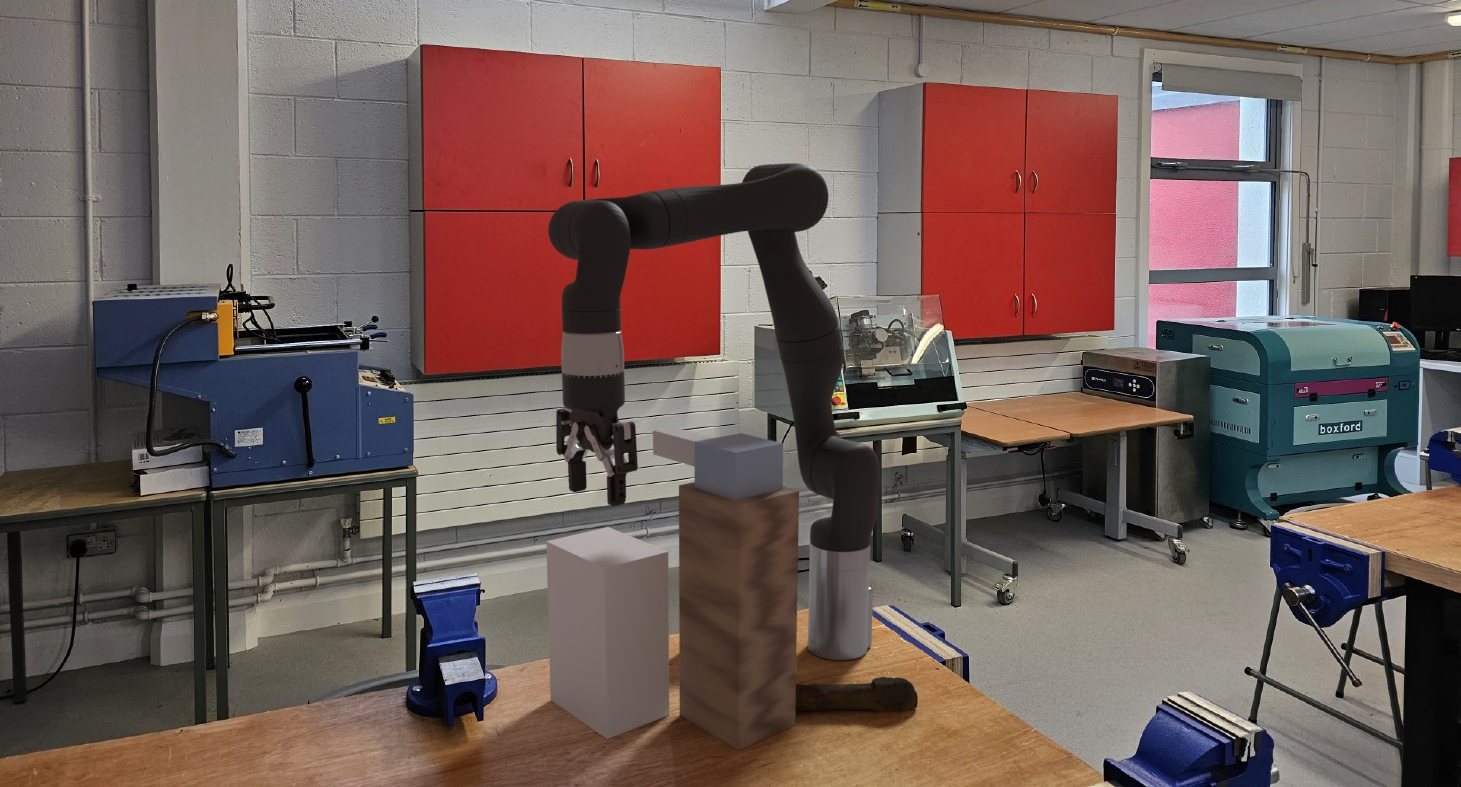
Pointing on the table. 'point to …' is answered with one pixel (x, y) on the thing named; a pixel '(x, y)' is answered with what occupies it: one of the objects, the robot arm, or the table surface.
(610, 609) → the grey pedestal
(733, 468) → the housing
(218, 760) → the table surface
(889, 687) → the hand tool
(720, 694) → the walnut stand
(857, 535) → the robot arm
